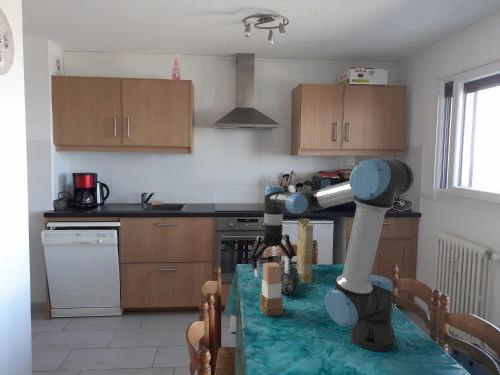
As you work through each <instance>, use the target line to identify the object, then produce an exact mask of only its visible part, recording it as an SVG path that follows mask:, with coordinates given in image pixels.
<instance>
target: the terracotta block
mask: <svg viewBox="0 0 500 375" xmlns="http://www.w3.org/2000/svg"><path fill="white" fill-rule="evenodd" d="M277 263H278V262H265V263H263V264H262V267H263V269H262V280H264V281H265V282H266V283H267V284H274V283H281V266H280V265H279V264H277Z"/></svg>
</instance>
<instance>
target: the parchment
mask: <svg viewBox="0 0 500 375" xmlns="http://www.w3.org/2000/svg"><path fill="white" fill-rule="evenodd" d="M296 242H297V246H296V247H297V248H296V268H297V269H298V272H297V273H299V275H300V283H301V284H302V283H303V284H311V283H312V272H313V271H312V265H313V264H312V263H313V245H314V244H313V242H314V224H310V219H309V218H298V219H297V241H296Z"/></svg>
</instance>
